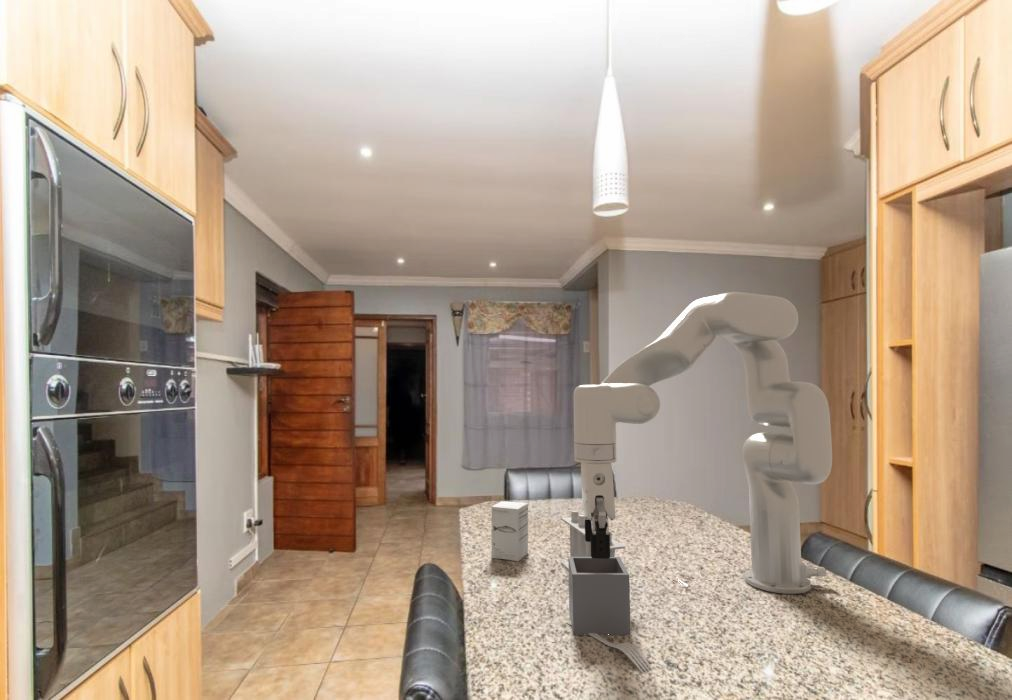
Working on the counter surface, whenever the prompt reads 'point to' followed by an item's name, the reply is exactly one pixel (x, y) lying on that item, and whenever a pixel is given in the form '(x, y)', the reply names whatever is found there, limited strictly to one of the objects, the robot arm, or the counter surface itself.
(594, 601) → the grey open square box
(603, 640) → the fork
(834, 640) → the counter surface
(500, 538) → the supplement box
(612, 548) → the test tube rack
